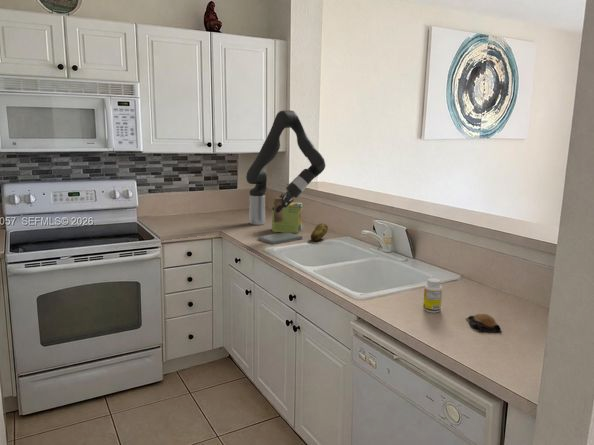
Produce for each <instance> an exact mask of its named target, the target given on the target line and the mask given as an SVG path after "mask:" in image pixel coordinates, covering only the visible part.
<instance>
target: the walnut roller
mask: <svg viewBox="0 0 594 445" xmlns="http://www.w3.org/2000/svg"><path fill="white" fill-rule="evenodd" d="M282 200H283V198H279V197H273V204H274V222H283V208H282V210H281V211H280V212H279V213H277V212H276V211H275V209H276V208H277V207H278V206H279V205H280V204H281V202H282Z"/></svg>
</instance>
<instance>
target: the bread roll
mask: <svg viewBox="0 0 594 445" xmlns="http://www.w3.org/2000/svg"><path fill="white" fill-rule="evenodd" d="M465 321H466V322H467V324H468V325H469V326H470V327H471V328H472V329H474V331H475V332H478V333H479V334H483V333H484V334H502V333H503V331H502V329H501V326H500V325H499V324H498V322H497V321H496V320H495V319H494V317H492V316H491V315H489V314H487V313H477V314H474V315H469V316H468V317H466V318H465Z"/></svg>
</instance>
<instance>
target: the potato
mask: <svg viewBox="0 0 594 445" xmlns="http://www.w3.org/2000/svg"><path fill="white" fill-rule="evenodd" d="M328 231H329V226H328V225H327V224H325V223H319V224H317V225H316V226H315V227H314V229H313V231H312V232H311V234H310V239H311V241H313V242H317V241H319V240H321V239H322V238H323V237H324V236H325V235H327V233H328Z"/></svg>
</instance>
